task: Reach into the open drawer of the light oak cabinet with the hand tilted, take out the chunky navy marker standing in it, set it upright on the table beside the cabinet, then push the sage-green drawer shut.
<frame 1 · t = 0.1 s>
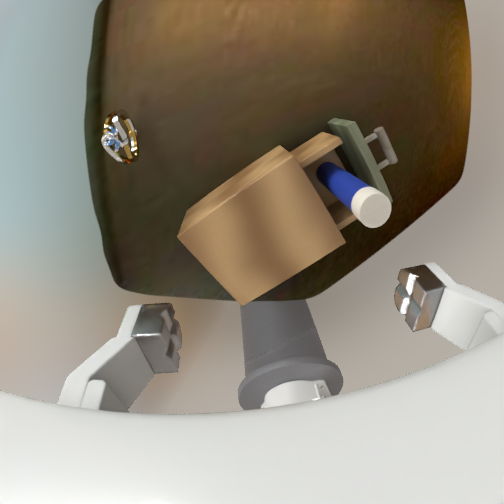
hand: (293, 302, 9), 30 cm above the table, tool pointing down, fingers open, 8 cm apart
drawer: (332, 178, 34), point 4 cm above the table, slide at 7.0 cm, touching marker
cabinet: (257, 212, 40), on the table
ring: (134, 133, 33), on the table
marker: (327, 173, 36), point 2 cm above the table, touching drawer
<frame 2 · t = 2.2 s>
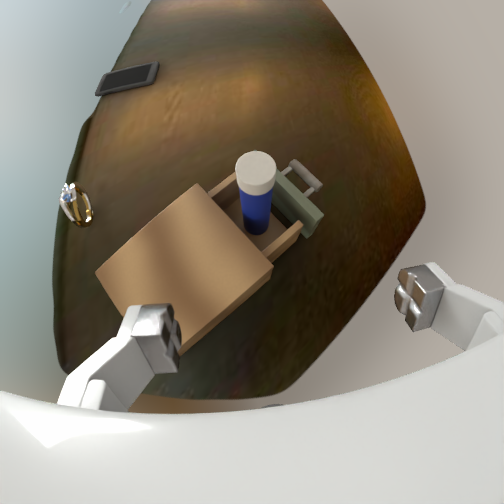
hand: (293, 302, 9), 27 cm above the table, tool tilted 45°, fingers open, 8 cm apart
cell phone: (127, 79, 47), on the table
drawer: (255, 217, 34), point 4 cm above the table, slide at 7.0 cm, touching marker
cabinet: (193, 282, 37), on the table
ring: (92, 214, 40), on the table
marker: (256, 223, 37), point 2 cm above the table, touching drawer
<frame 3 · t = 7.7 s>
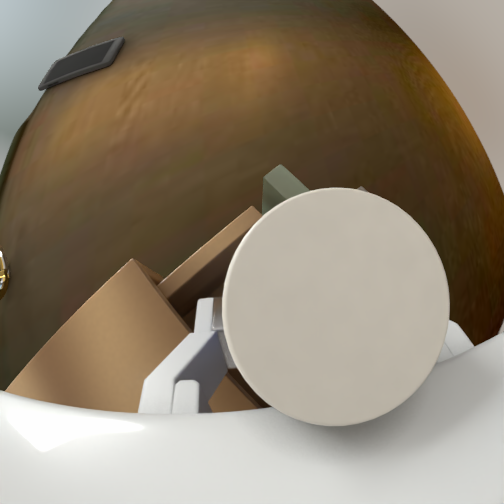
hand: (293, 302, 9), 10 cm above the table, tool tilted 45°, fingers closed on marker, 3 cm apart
cell phone: (80, 64, 29), on the table
drawer: (278, 326, 15), point 4 cm above the table, slide at 7.0 cm, touching marker
cabinet: (160, 419, 17), on the table
ring: (9, 275, 20), on the table
marker: (278, 325, 17), point 2 cm above the table, touching drawer, gripper
when the fingers open (8 cm above the table, at t = 16.8 s): marker stays where it is, on the table.
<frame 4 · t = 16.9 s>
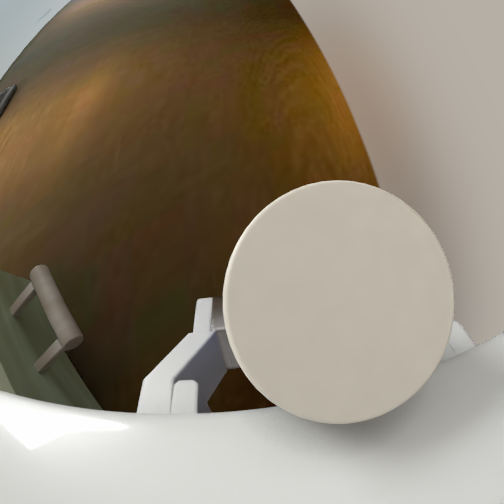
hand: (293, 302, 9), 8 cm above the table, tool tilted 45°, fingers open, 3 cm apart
marker: (279, 326, 17), on the table
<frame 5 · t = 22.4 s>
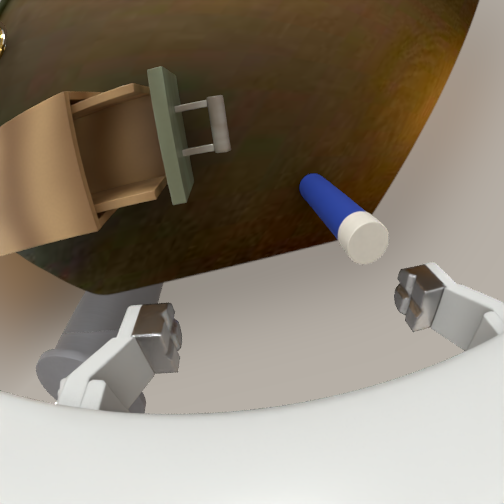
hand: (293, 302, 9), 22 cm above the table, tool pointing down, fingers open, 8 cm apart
drawer: (125, 144, 23), point 4 cm above the table, slide at 7.0 cm
cabinet: (58, 165, 26), on the table
ring: (5, 47, 17), on the table
marker: (312, 187, 31), on the table
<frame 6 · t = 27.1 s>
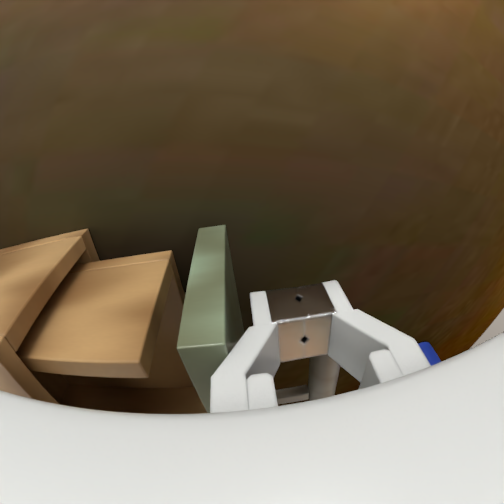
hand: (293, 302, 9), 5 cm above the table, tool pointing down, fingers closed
drawer: (141, 377, 12), point 4 cm above the table, slide at 5.9 cm, touching gripper
cabinet: (40, 325, 16), on the table
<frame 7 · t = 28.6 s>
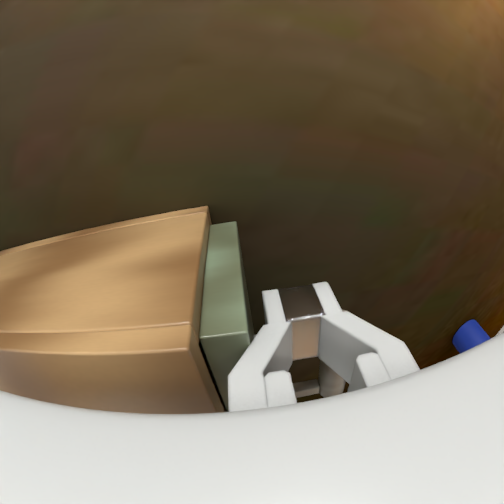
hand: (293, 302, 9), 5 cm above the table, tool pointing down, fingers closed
drawer: (152, 375, 12), point 4 cm above the table, slide at 0.0 cm, touching cabinet, gripper
cabinet: (108, 322, 16), on the table
marker: (464, 332, 20), on the table
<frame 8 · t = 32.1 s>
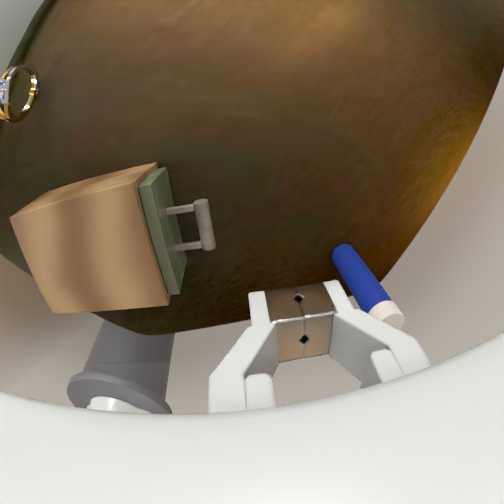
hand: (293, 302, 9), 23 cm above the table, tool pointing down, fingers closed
drawer: (126, 235, 28), point 4 cm above the table, slide at 0.0 cm, touching cabinet
cabinet: (109, 225, 31), on the table
ring: (37, 91, 22), on the table
marker: (342, 254, 36), on the table
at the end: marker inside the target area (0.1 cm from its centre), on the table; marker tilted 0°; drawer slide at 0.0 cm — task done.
